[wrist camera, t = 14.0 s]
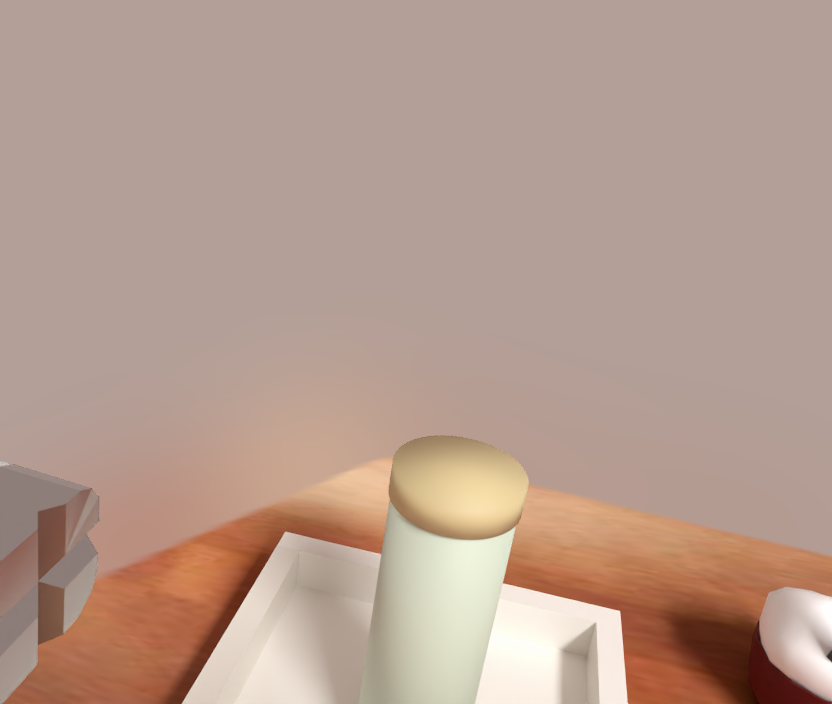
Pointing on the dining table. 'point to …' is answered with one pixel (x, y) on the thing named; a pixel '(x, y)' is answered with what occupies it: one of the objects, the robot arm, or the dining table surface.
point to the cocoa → (793, 649)
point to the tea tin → (441, 570)
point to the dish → (349, 630)
